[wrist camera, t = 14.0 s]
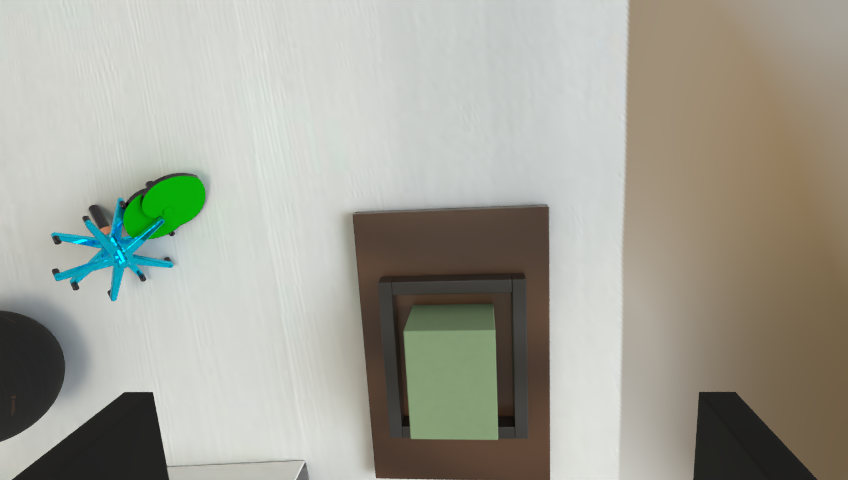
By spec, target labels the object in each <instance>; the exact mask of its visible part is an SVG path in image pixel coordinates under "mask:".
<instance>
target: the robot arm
mask: <svg viewBox="0 0 848 480" xmlns="http://www.w3.org/2000/svg"><path fill="white" fill-rule="evenodd" d="M12 480H169V476H168V470H167V465H166V460H165V454H164V449H163V444H162V439H161V433H160V428H159V423H158V417H157V412H156V407H155V401H154V396H153V392H124V393H123V394H122V395H120V396H119V397H118V398H116V399H115V400H114V401H113V402H111V403H110V404H109V405H107V406H106V407H105V408H104V409H102V410H101V411H100V412H98V413H97V414H96V415H95V416H93V417H92V418H91V419H89V420H88V421H87V422H86V423H84V424H83V425H82V426H80V427H79V428H78V429H77V430H75V431H74V432H73V433H71V434H70V435H69V436H68V437H66V438H65V439H64V440H62V441H61V442H60V443H59V444H57V445H56V446H55V447H53V448H52V449H51V450H50V451H48V452H47V453H46V454H44V455H43V456H42V457H41V458H39V459H38V460H37V461H35V462H34V463H33V464H32V465H30V466H29V467H28V468H26V469H25V470H24V471H23V472H21V473H20V474H19V475H17V476H16V477H15V478H14V479H12ZM693 480H817V479H816V478H815V477H814V476H813V475H812V473H811V472H809V470H808V469H807V468H806V467H805V466H804V465H803V464H802V463H801V462H800V461H799V460H798V459H797V457H796V456H795V455H794V454H793V453H792V452H791V451H790V450H789V449H788V448H787V447H786V446H785V445H784V444H783V442H782V441H781V440H780V439H779V438H778V437H777V436H776V435H775V434H774V433H773V432H772V431H771V430H770V429H769V428H768V426H767V425H766V424H765V423H764V422H763V421H762V420H761V419H760V418H759V417H758V416H757V415H756V414H755V413H754V412H753V410H752V409H751V408H750V407H749V406H748V405H747V404H746V403H745V402H744V401H743V400H742V399H741V398H740V397H739V396H738V394H737V393H736V392H699V402H698V419H697V433H696V448H695V463H694V478H693Z"/></svg>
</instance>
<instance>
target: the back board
mask: <svg viewBox="0 0 848 480" xmlns="http://www.w3.org/2000/svg"><path fill="white" fill-rule="evenodd" d="M353 223H354V234H355V245H356V257H357V268H358V280H359V291H360V302H361V314H362V325H363V336H364V348H365V359H366V370H367V382H368V393H369V405H370V416H371V427H372V439H373V450H374V461H375V473H376V478H390V479H445V480H550V360H549V207H548V205H525V206H499V207H474V208H448V209H422V210H397V211H371V212H356V213H354V214H353ZM447 304H493V306H494V319H495V332H496V370H497V408H498V440H454V439H411V436H410V421H409V406H408V392H407V377H406V362H405V348H404V333H403V332H404V329H405V326H406V323H407V320H408V317H409V314H410V312H411V309H412V306H413V305H447Z"/></svg>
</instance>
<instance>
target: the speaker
mask: <svg viewBox="0 0 848 480" xmlns="http://www.w3.org/2000/svg"><path fill="white" fill-rule="evenodd" d="M64 374H65V361H64V356H63V352H62V349H61V347H60V345H59V343H58V341H57V340H56V338H55V337H54V336H53V335H52V333H51V332H50V331H49V330H48V329H46V328H45V327H44V326H43V325H41V324H40V323H38V322H37V321H35V320H33V319H31V318H29V317H26V316H24V315H21V314H17V313H13V312H7V311H0V442H1V441H4V440H6V439H9V438H11V437H13V436H15V435H17V434H19V433H21V432H23V431H24V430H26V429H27V428H29V427H30V426H32V425H33V424H34V423H35V422H37V421H38V420H39V419H40V418H41V417H42V416H43V415H44V414H45V413H46V412H47V411H48V410H49V408H50V407H51V406H52V404H53V403H54V401H55V400H56V398H57V396H58V394H59V392H60V390H61V387H62V384H63V380H64Z"/></svg>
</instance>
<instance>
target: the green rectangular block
mask: <svg viewBox="0 0 848 480" xmlns="http://www.w3.org/2000/svg"><path fill="white" fill-rule="evenodd" d="M403 333H404V348H405V362H406V377H407V392H408V406H409V421H410V436H411V439H454V440H498V408H497V370H496V332H495V319H494V306H493V304H447V305H413V306H412V309H411V312H410V314H409V317H408V320H407V323H406V326H405V329H404V332H403Z"/></svg>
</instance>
